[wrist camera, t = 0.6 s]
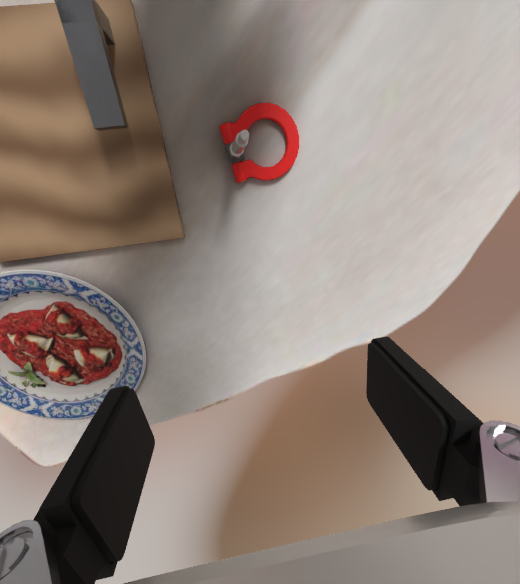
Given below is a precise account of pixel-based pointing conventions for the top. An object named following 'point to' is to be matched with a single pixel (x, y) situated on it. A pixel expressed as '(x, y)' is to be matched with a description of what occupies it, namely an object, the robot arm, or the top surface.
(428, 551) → the robot arm
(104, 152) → the board
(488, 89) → the top surface
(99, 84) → the bracket
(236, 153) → the tow hook
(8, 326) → the ceramic plate
